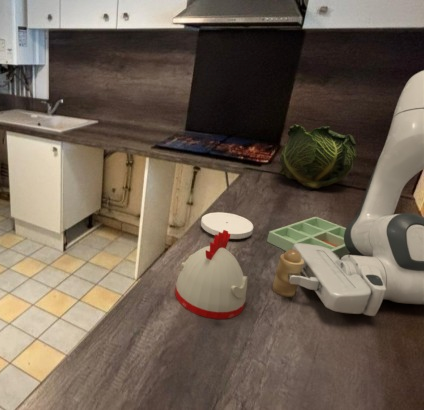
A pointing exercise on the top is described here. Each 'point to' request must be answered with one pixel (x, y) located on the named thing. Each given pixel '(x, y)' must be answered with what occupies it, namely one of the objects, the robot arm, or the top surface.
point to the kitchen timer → (212, 281)
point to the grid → (310, 235)
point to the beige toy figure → (287, 272)
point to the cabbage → (317, 156)
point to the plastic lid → (227, 225)
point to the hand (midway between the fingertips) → (284, 270)
